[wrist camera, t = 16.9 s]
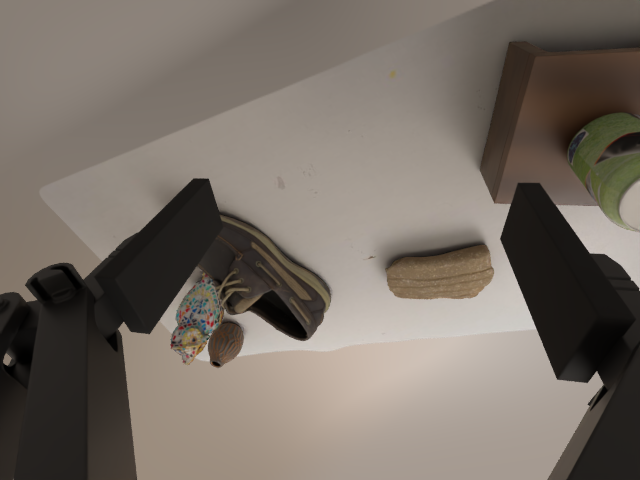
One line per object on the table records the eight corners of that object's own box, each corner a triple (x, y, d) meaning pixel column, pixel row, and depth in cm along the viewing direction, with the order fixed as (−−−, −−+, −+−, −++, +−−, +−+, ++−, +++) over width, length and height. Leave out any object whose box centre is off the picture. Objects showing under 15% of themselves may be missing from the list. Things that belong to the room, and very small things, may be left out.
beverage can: (610, 180, 32) (697, 262, 23) (535, 160, 32) (592, 234, 23) (665, 115, 28) (799, 183, 19) (579, 94, 28) (670, 150, 19)
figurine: (247, 290, 64) (214, 359, 52) (221, 307, 69) (185, 373, 57) (211, 263, 61) (168, 329, 49) (187, 282, 66) (142, 347, 54)
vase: (228, 339, 76) (212, 375, 69) (211, 320, 72) (192, 355, 66) (253, 336, 73) (238, 372, 66) (236, 316, 70) (219, 352, 63)
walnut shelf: (509, 42, 33) (535, 56, 27) (673, 32, 31) (744, 45, 25) (479, 170, 42) (494, 203, 36) (606, 171, 39) (646, 207, 33)
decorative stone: (381, 255, 53) (380, 270, 50) (488, 239, 48) (494, 254, 45) (394, 298, 58) (394, 313, 56) (492, 287, 53) (498, 304, 50)
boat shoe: (195, 190, 51) (157, 230, 43) (348, 281, 58) (341, 332, 49) (176, 233, 58) (140, 276, 50) (316, 311, 64) (304, 360, 56)
